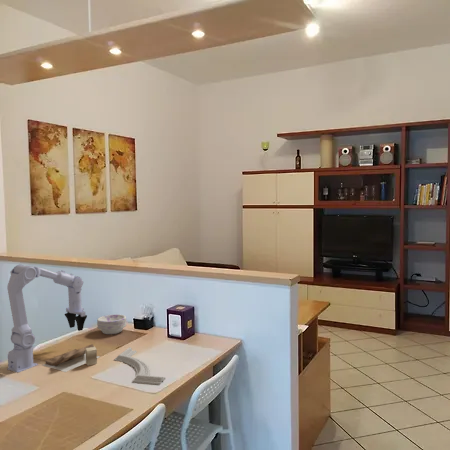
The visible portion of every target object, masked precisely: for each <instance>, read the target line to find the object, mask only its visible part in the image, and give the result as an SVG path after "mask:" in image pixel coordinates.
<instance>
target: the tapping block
mask: <svg viewBox="0 0 450 450" xmlns="http://www.w3.org/2000/svg"><path fill="white" fill-rule="evenodd" d="M97 356H98V349H97V347H96V346H94V347H90V348H86V363H85V364H86V365H87V366H92V365H97V364H98V358H97Z"/></svg>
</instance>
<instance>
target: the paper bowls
mask: <svg viewBox="0 0 450 450" xmlns="http://www.w3.org/2000/svg"><path fill="white" fill-rule="evenodd" d="M96 319H97V322H96V323H97V324H96V325H97V329H98V330H100V331H101V332H102V334H105V335H116V334H119V333H122V331H123V329H124V328H126V327H127V316H126V315H125V314H106V315H103V316H100V317H98V318H96Z"/></svg>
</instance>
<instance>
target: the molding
mask: <svg viewBox="0 0 450 450" xmlns="http://www.w3.org/2000/svg"><path fill="white" fill-rule="evenodd" d="M137 352H138V351H137V350H136V349H135V350H133V348H132V347H129V346H128V347H127V349H125V350H124V351H123V352H121V353H120V354H118V355H117V356H116V358H114V359H113V361H117V362H122V363H124V364H126V363H127V364H126V365H129V366H131V367H132V368H133V367H134V368H133V369H134V370H135V371H136V375H135V376H134V378H133V379H132V381H131V382H132V383H137V384H146V385H147V384H148V385H157V386H159V385H162V383H163V382H164V381H165V380H166V377H165V376H155V375H151V369H150V366H149V365H148V364H147V363H146V362H145V361H142V360H140V359H138V358H136V357H133V356H134V355H135V354H136V353H137Z"/></svg>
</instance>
